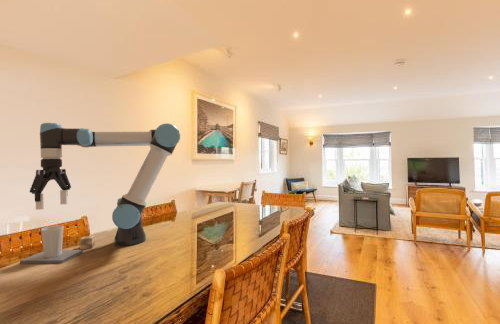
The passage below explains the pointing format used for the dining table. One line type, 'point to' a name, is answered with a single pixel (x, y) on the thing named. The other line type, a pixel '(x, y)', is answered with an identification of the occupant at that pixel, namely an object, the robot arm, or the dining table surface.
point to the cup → (52, 240)
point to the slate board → (57, 259)
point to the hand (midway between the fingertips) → (52, 206)
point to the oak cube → (87, 242)
